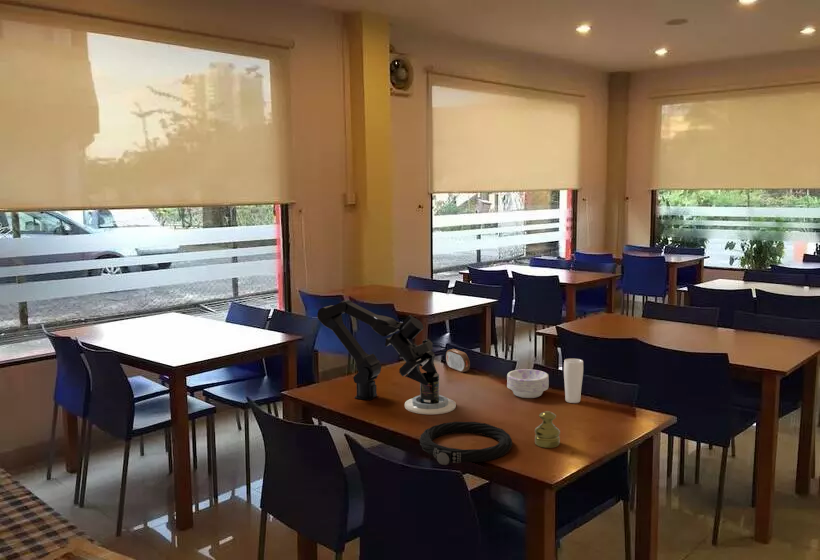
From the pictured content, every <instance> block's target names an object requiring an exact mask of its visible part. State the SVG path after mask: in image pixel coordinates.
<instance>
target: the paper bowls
mask: <svg viewBox="0 0 820 560" xmlns="http://www.w3.org/2000/svg"><path fill="white" fill-rule="evenodd" d="M506 380H507V382H506V387H507V389H509V390H511V391H512V393H513V395H514V396H516V397H518V398H522V399H535V398H539V397H540V396H542V395H543V393H544V391H547V390H548V389H549V384H550V381H549V373H547V372H545V371H542V370H538V369H532V368H531V369H528V368H523V369H520V368H519V369H514V370H511V371H509V372H508V373H507V375H506Z"/></svg>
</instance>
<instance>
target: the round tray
mask: <svg viewBox="0 0 820 560" xmlns="http://www.w3.org/2000/svg"><path fill="white" fill-rule="evenodd" d="M456 405H457V403H456V401H455V400H453V399H451V398H448V397H447V396H444V395H441V394H439V403H437V404H425V403H421V402H420V394H419V395H416V396H414V397H413V398H409V399H407V400H406V401H405V402H404V408H405V410H407V411H408V412H410V413H413V414H418V415H431V416H432V415H442V414H447V413H451V412H452V411H454V410H455V409H456Z"/></svg>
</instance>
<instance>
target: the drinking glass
mask: <svg viewBox="0 0 820 560" xmlns="http://www.w3.org/2000/svg"><path fill="white" fill-rule="evenodd" d="M563 361H564V362H563V379H564V381H563V383H564V396H565V397H564V400H565V402H567V403H569V404H579V403H580V402H581V397H582V396H581V393H582V387H583V386H582V385H583V378H584V360H583V359H580V358H565V359H564V360H563Z"/></svg>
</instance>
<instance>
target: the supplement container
mask: <svg viewBox="0 0 820 560" xmlns="http://www.w3.org/2000/svg"><path fill="white" fill-rule="evenodd" d="M421 373H422V374H423V376H424V377H425V379H426V380H427V382H428V385H424V384H422V383H420V382H419V387H420V388H419V392H420V393H419V395H420V402H421V403H425V404H437V403H439V395H440V374H439V373H438V372H437V373H434V372H426V371H425V372H421Z"/></svg>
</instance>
